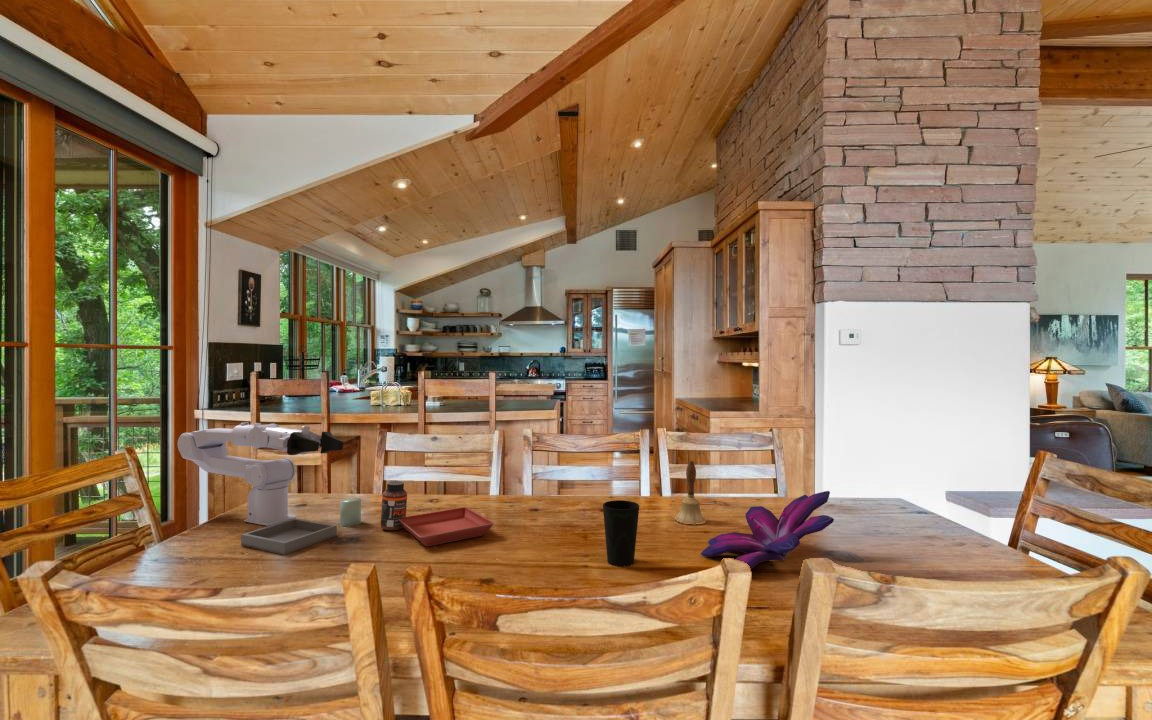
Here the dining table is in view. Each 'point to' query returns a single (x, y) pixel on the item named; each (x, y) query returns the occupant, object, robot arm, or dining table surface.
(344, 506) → the green cylinder
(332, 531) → the tray
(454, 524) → the plant saucer
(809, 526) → the decorative flower
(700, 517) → the hand bell
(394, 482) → the supplement bottle
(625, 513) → the cup
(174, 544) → the dining table surface
